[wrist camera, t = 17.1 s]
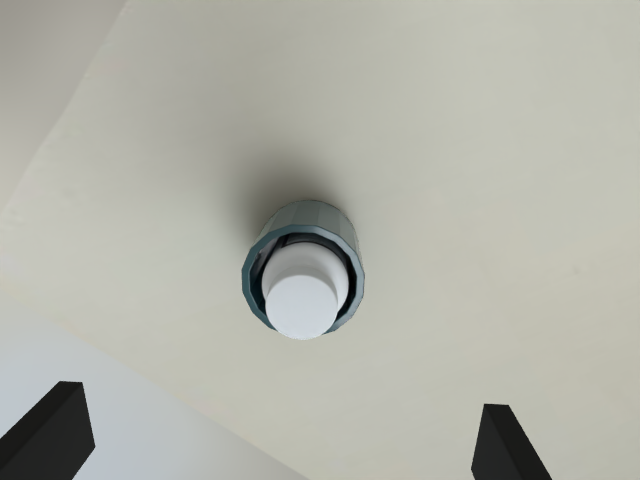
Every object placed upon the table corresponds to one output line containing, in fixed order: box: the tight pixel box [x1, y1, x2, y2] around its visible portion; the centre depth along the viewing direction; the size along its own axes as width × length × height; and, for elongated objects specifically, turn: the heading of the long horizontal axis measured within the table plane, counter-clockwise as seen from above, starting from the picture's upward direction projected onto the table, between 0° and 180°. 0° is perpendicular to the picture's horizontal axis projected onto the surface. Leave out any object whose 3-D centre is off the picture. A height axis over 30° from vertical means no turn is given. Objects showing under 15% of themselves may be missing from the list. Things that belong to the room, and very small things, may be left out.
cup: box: [242, 200, 365, 335], centre depth 27 cm, size 8×8×7 cm
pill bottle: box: [262, 232, 348, 340], centre depth 26 cm, size 5×5×10 cm
